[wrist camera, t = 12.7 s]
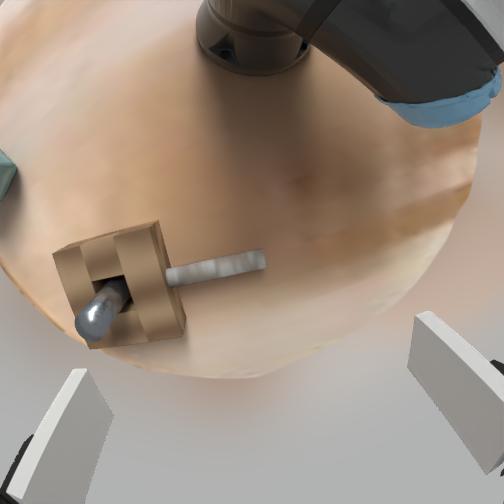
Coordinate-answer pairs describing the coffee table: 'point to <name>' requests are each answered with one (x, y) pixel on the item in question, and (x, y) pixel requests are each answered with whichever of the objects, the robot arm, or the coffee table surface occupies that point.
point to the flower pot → (5, 173)
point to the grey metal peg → (102, 309)
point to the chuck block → (140, 281)
